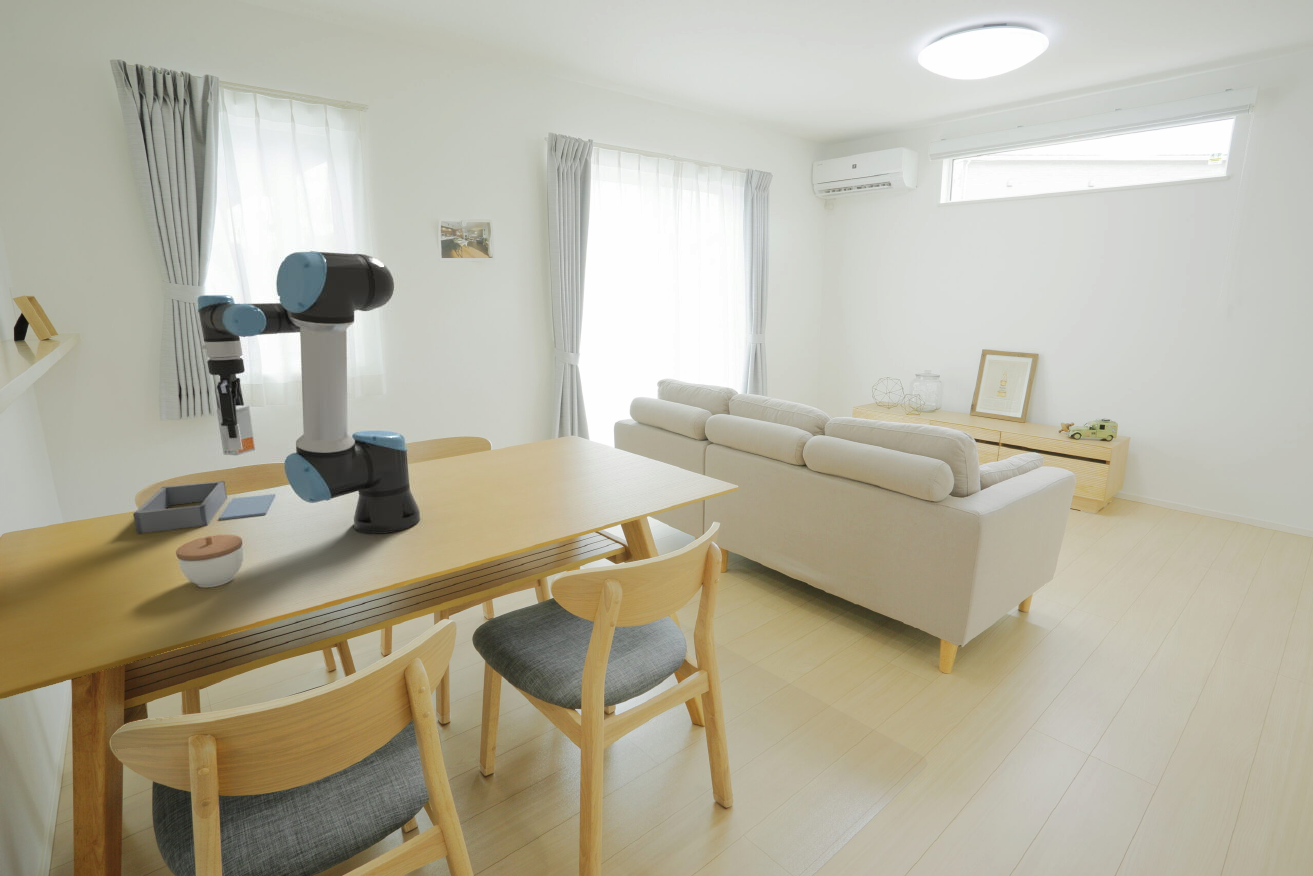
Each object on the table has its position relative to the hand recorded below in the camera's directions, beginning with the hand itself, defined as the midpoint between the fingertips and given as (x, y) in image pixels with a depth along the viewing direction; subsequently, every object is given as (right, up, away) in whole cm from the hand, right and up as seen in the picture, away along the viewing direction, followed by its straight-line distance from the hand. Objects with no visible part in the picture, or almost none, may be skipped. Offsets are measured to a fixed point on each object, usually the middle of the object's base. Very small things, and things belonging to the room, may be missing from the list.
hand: (239, 446), depth 163 cm
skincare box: (0, -2, 0) cm, 2 cm away
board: (0, -16, +4) cm, 17 cm away
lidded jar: (+20, -27, -37) cm, 50 cm away
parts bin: (-13, -18, -1) cm, 22 cm away
